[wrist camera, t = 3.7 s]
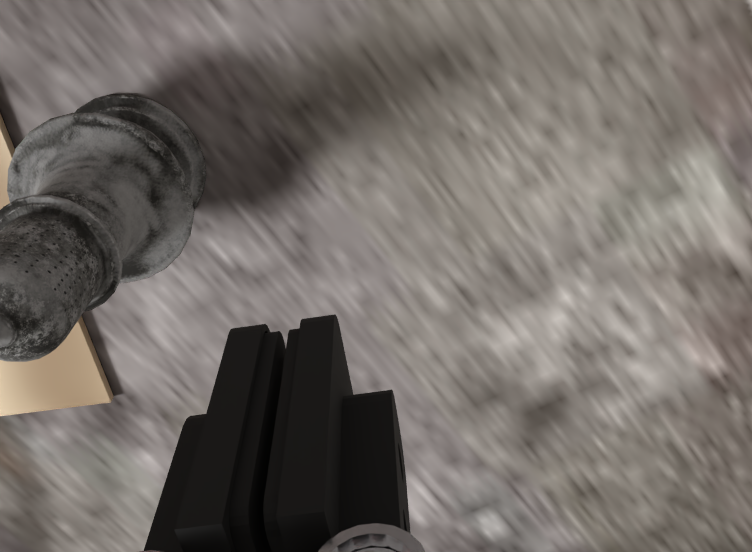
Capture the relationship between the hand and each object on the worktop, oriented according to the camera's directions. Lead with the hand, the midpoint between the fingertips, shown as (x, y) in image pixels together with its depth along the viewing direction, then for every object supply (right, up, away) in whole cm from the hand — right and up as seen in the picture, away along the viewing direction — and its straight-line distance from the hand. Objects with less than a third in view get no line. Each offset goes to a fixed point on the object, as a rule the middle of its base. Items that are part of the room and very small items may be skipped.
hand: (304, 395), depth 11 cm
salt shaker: (-8, +6, +15) cm, 18 cm away
